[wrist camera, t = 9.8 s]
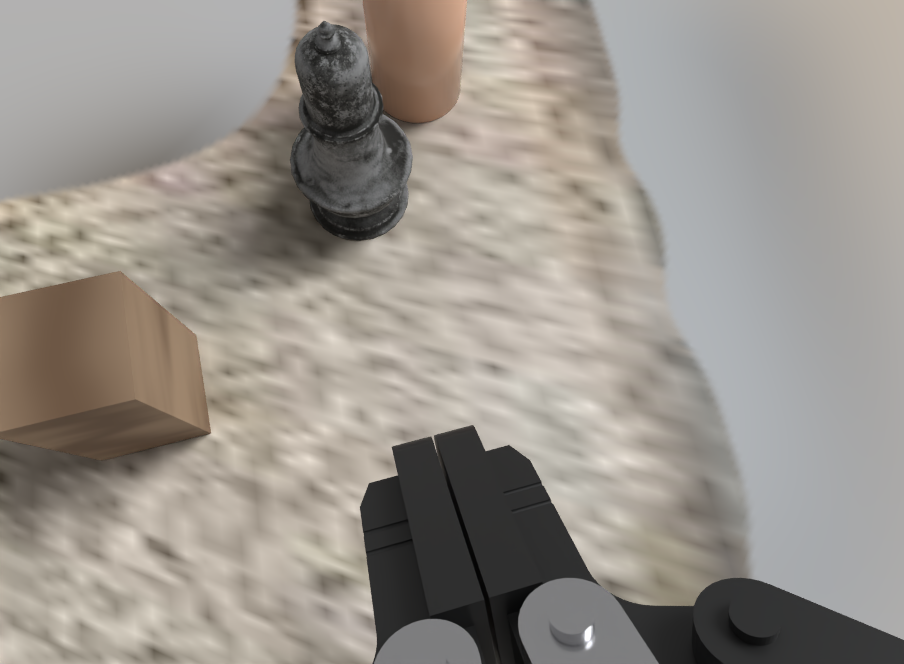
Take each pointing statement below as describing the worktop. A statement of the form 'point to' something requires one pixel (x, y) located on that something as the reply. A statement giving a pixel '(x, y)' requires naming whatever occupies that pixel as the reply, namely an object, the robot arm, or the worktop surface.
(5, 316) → the walnut block
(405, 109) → the terracotta canister
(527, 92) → the worktop surface
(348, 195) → the dark grey turned piece
